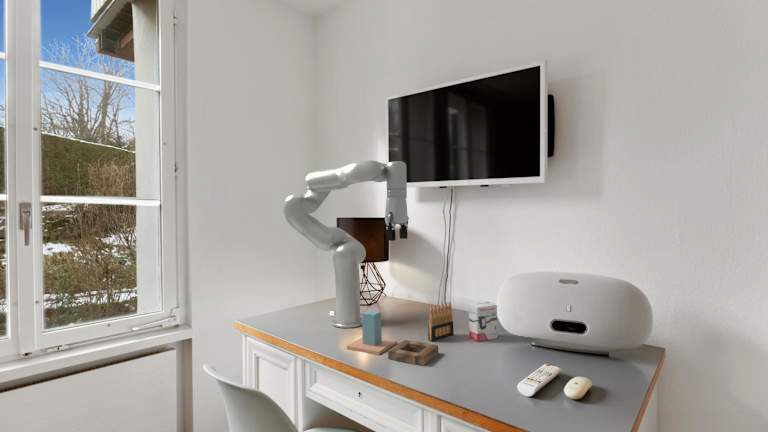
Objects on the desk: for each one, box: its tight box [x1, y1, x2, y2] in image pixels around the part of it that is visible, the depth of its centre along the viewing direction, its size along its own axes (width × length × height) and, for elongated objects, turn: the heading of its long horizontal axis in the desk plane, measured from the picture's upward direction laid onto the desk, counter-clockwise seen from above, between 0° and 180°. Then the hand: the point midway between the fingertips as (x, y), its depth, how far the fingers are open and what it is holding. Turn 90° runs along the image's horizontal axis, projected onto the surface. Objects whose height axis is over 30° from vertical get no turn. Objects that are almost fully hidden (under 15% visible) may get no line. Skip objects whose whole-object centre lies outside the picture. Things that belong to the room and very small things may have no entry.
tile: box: [346, 336, 398, 356], centre depth 131 cm, size 12×12×1 cm
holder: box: [387, 339, 439, 367], centre depth 121 cm, size 12×12×2 cm
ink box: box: [468, 301, 498, 343], centre depth 137 cm, size 8×5×12 cm, turn 115°
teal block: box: [361, 310, 383, 346], centre depth 131 cm, size 4×4×10 cm
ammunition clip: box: [427, 301, 455, 342], centre depth 138 cm, size 11×2×12 cm, turn 127°
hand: (397, 239), depth 151 cm, fingers open, 9 cm apart
